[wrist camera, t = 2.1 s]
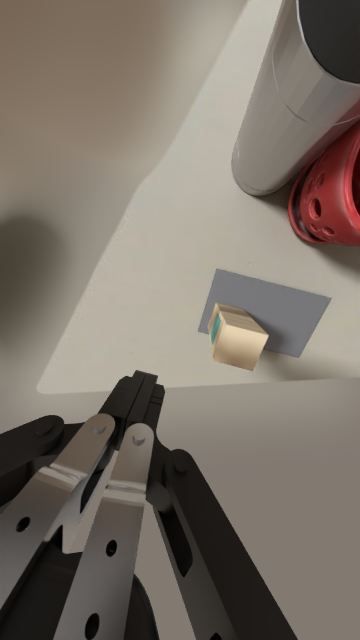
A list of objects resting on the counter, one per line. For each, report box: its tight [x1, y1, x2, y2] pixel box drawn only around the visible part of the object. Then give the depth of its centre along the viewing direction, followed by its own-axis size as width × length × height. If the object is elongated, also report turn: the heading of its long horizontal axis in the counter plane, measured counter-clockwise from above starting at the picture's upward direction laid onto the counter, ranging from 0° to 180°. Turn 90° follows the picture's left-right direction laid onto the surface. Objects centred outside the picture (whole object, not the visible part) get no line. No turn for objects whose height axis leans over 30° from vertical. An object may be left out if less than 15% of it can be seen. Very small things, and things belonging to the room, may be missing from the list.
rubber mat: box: [198, 269, 331, 358], centre depth 31 cm, size 12×20×1 cm, turn 77°
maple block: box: [208, 302, 269, 371], centre depth 26 cm, size 5×5×12 cm
